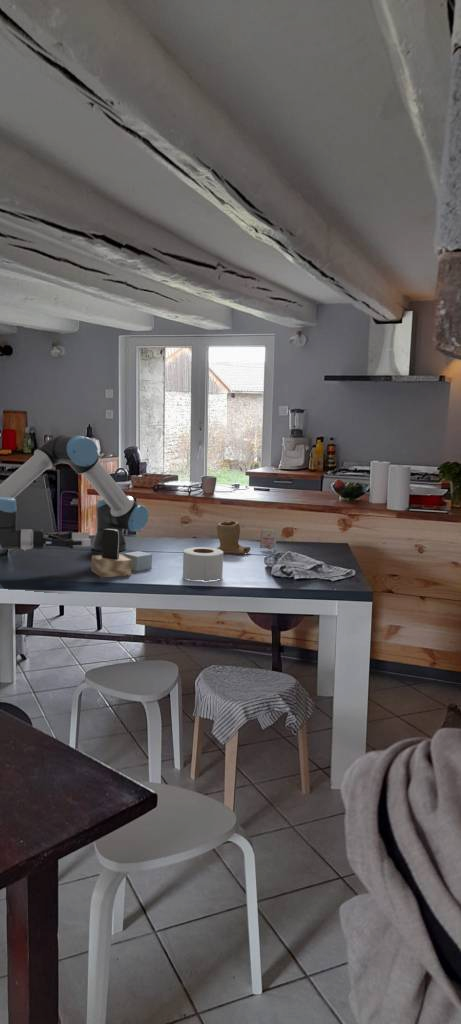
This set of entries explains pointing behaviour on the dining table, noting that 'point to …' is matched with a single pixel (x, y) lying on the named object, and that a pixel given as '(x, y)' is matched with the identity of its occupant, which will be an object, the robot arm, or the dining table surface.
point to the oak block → (111, 566)
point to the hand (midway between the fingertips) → (89, 539)
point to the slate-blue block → (139, 560)
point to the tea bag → (268, 539)
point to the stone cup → (230, 538)
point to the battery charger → (110, 543)
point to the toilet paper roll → (202, 563)
